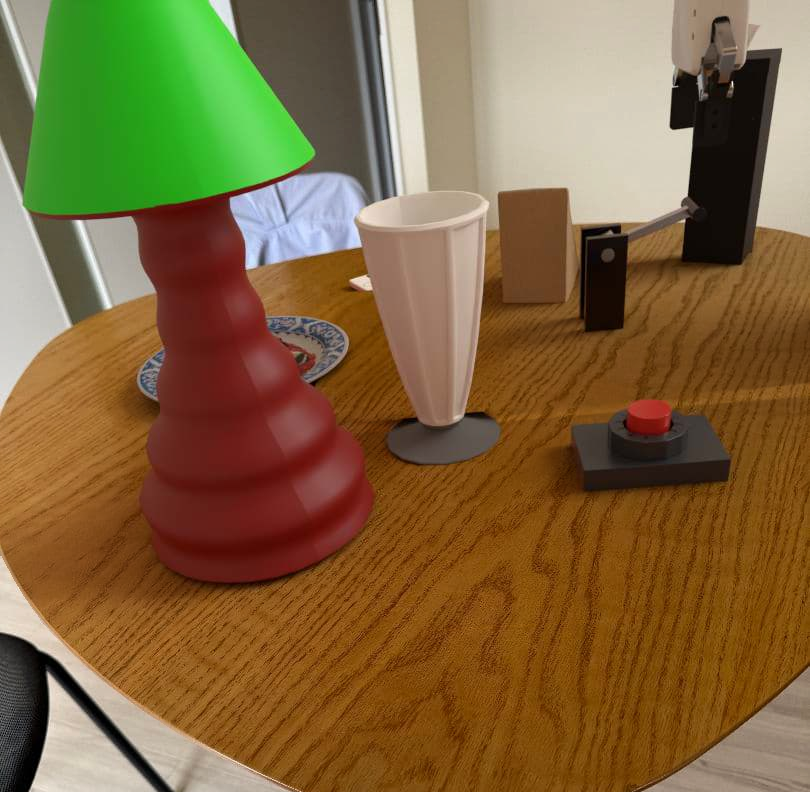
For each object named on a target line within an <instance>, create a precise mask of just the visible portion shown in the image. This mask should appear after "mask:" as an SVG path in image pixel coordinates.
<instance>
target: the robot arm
mask: <svg viewBox="0 0 810 792" xmlns="http://www.w3.org/2000/svg"><path fill="white" fill-rule="evenodd" d="M750 8H751V0H674V1H673V11H672V14H673V15H672V27H671V46H670V47H671V51H670V52H671V55H670V56H671V62H672V65H674V70H673V74H672V81H671V82H672V87H671V93H670V94H671V96H670V108H669V110H670V111H669V129H670V130H672V131H678V130H686V129H692V139H691V146H692V145H693V146H694V147H705V146H713V145H721V144H725V143H726V142H727V139H728V130H729V120H730V111H731V101H732V95H733V81H732V80H733V78H734V77H735V73H734V72H735V71H734V70H739V69H740V68H741V67H742V66H743V65H744V63H745V60H746V51H747V38H748V24H750V22H749V21H750V10H751V9H750ZM708 76H711V77H710V80H709V83H708V81H707V77H708Z"/></svg>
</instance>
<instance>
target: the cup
mask: <svg viewBox="0 0 810 792" xmlns="http://www.w3.org/2000/svg"><path fill="white" fill-rule="evenodd" d="M489 208H490V202H489V201H488V200H487V199H486V198H484V196H482V195H481V194H478V193H474V192H470V191H465V190H433V191H421V192H420V191H419V192H414V193H408V194H402V195H397V196H393V197H389V198H386V199H383V200H378V201H376V202H374V203H371V204H370V205H367V206H364V207H363V208H361V209H360V210H359V212H358V213H356V215H355V217H354V218H353V222H354V225H355V227H356V229H357V231H358V237H359V241H360V245H361V249H362V253H363V258H364V261H365V265H366V270H367V273H368V274H369V278H370V282H371V285H372V289H373V290H372V292H373V297H374V300H375V304H376V308H377V311H378V313H379V318H380V320H381V323H382V326H383V331H384V333H385V337H386V340H387V343H388V346H389V349H390V352H391V355H392V358H393V361H394V363H395V366H396V369H397V372H398V375H399V377H400V381H401V382H402V385H403V389H404V391H405V393H406V395H407V398H408V400H409V402H410V404H411V406H412V408H413V411H414V413H415V414H416V416H413V417H403V418H402V419H401V420H400V421H398V422H397V423H396V424H395V425H393V426H392V427H391V428H390V429H389V431H388V434H387V436H386V438H385V442H386V445H387V448H388V451H389V452H390V453H391V454H393V455H395V456H396V457H397V458H399V459H400V460H402V461H404V462H408V463H413V464H415V465H421V466H423V465H425V466H447V465H453V464H456V463H463V462H466V461H469V460H472V459H474V458H476V457H478V456H481V455H483V454H485V453H487V452H488V451H489V450H490V449H492V448H493V446H494V445H495V444H497V443H498V442H499V440H500V436H501V431H502V428H501V426H500V425H499V423H498V421H497V420H496V418H495V417H493V416H491V415H489V414H487V413H485V412H484V411H472V412H471V411H470V412H466V408H467V404H468V398H469V396H470V390H471V386H472V383H473V382H472V381H473V375H474V369H475V362H476V355H477V348H478V342H479V333H480V323H481V322H480V321H481V313H482V305H483V304H482V303H483V296H484V295H483V293H484V279H485V261H486V260H485V259H486V244H487V243H486V237H487V214H488V211H489ZM368 274H367V275H368Z"/></svg>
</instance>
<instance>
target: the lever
mask: <svg viewBox="0 0 810 792" xmlns="http://www.w3.org/2000/svg"><path fill="white" fill-rule="evenodd" d="M687 196H688V195H687ZM687 196H685V197H684V198H682V200H681V202H680V207H679V208H676V209H675V210H672V211H670V212H668V213H666V214H663V215H660V216H658V217H656V218H654V219H651V220H649V221H646V222H644V223H642V224H640V225H638V226H635V227H633V228H630V229H628V230H626V231H623V233H627V234H628V244H630V243H632V242H634V241H638V240H640V239H642V238H645V237H647V236H649V235H651V234H653V233H656V232H658V231H661V230H663V229H665V228H668V227H669V226H670V227H671V226H672V225H675V224H677V223H680V222H682V221H685V219H686V218H689V217H691V218H692V219H693V220H694V221H696V222H700V221H702V220H703V219H704V218H705V217H706V210H705V209H704V208H703V207H702V206H701V205H700V204H699V203H697V202H696V201H695V200H694V199H693V198H692V197H690V196H688V197H687ZM611 234H613V232H612V231H611V230H609V231H606V232H604V233H602V234H600V235H597V236H602V235H611Z"/></svg>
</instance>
